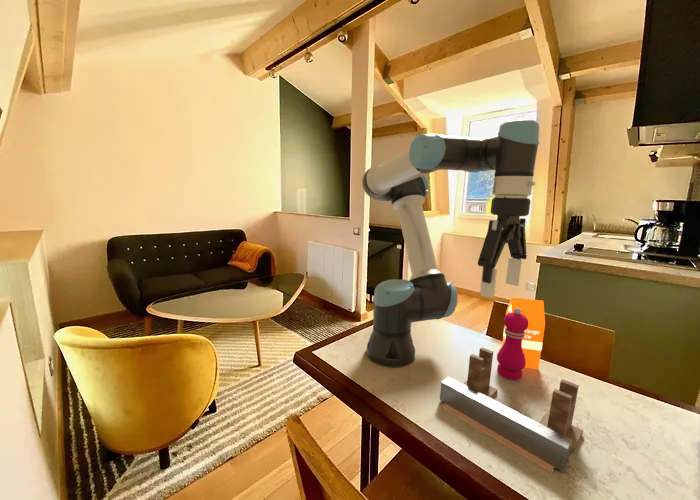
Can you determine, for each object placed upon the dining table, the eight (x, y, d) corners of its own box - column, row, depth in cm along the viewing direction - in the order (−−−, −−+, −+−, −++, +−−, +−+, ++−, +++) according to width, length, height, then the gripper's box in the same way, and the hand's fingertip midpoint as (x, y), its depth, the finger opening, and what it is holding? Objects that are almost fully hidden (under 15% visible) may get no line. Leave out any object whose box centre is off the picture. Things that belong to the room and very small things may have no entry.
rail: (439, 400, 76) (441, 381, 75) (446, 394, 78) (448, 376, 77) (563, 472, 57) (567, 449, 56) (568, 462, 59) (572, 439, 58)
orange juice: (500, 351, 100) (508, 293, 96) (531, 356, 98) (539, 296, 94) (506, 364, 92) (514, 301, 89) (538, 369, 90) (548, 305, 86)
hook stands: (458, 391, 80) (461, 352, 77) (471, 380, 84) (475, 343, 82) (573, 453, 61) (582, 404, 59) (582, 435, 66) (590, 389, 64)
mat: (441, 407, 74) (441, 405, 74) (454, 396, 78) (454, 395, 78) (551, 473, 57) (551, 471, 57) (560, 455, 61) (561, 453, 61)
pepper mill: (527, 383, 84) (537, 314, 80) (499, 379, 85) (507, 311, 81) (518, 368, 90) (527, 304, 87) (492, 365, 92) (500, 302, 88)
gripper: (505, 197, 56) (492, 307, 60) (549, 197, 72) (536, 283, 76) (466, 196, 61) (457, 297, 66) (515, 196, 78) (505, 277, 82)
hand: (500, 290), depth 71 cm, fingers open, 13 cm apart
